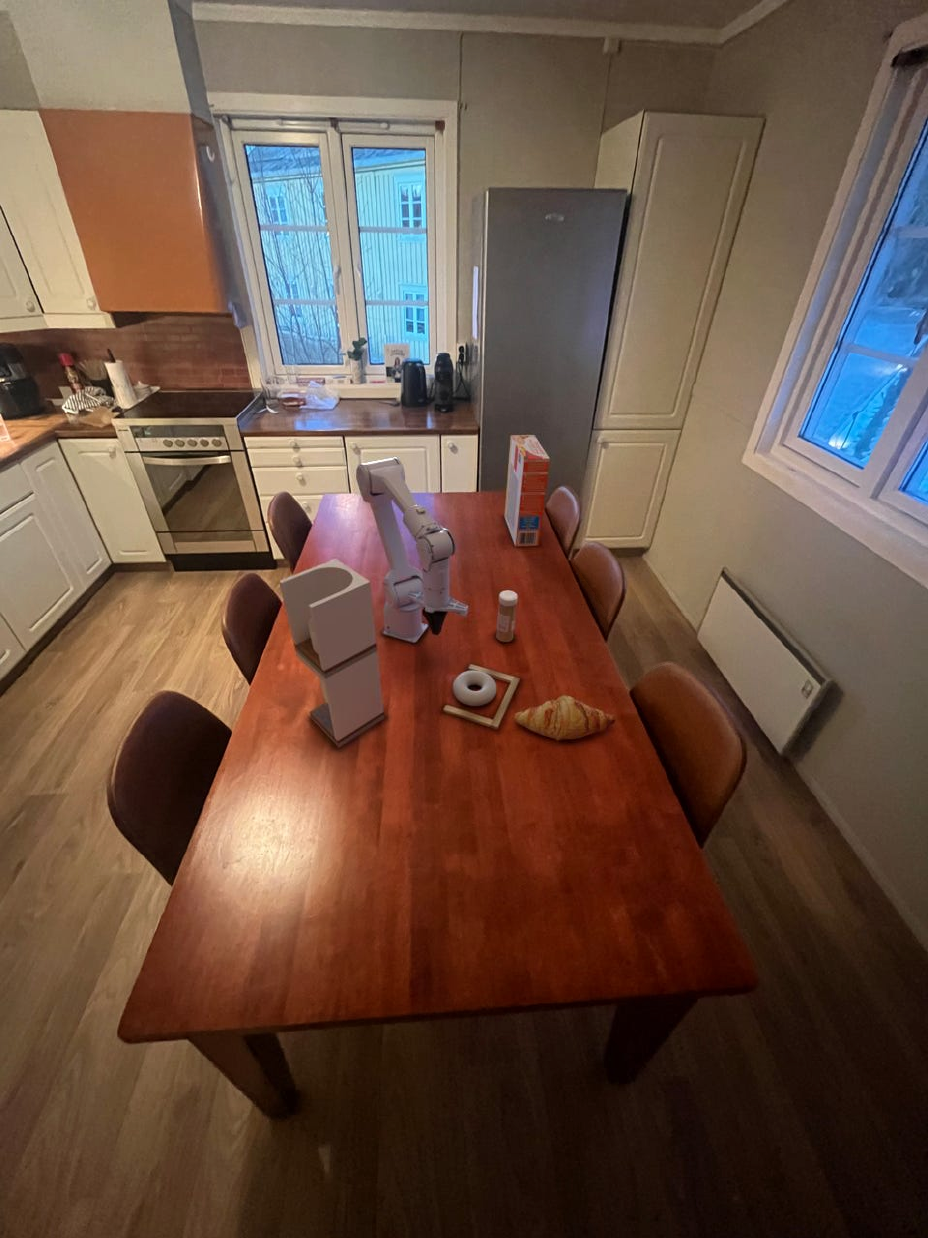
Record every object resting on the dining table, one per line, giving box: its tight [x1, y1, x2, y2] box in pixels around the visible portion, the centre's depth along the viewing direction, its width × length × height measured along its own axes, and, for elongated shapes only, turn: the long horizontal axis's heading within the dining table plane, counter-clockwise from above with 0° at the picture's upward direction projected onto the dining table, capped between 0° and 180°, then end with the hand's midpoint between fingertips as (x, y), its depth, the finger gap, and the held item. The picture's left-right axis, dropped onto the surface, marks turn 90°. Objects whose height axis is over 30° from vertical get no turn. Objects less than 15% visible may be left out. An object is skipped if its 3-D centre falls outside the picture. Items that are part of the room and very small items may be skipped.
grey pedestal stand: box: [278, 558, 385, 748], centre depth 97 cm, size 11×11×35 cm
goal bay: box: [442, 663, 521, 730], centre depth 114 cm, size 12×16×1 cm
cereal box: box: [503, 434, 551, 547], centre depth 170 cm, size 23×8×30 cm, turn 6°
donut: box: [452, 670, 497, 707], centre depth 114 cm, size 10×4×10 cm
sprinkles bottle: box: [495, 589, 519, 643], centre depth 127 cm, size 5×5×13 cm
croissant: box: [514, 694, 616, 742], centre depth 106 cm, size 21×10×8 cm, turn 90°
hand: (436, 632), depth 117 cm, fingers closed
